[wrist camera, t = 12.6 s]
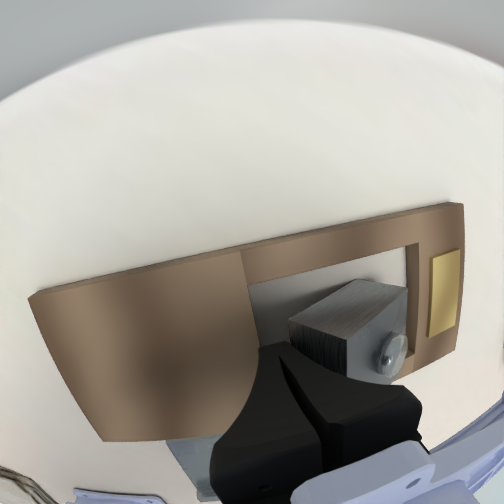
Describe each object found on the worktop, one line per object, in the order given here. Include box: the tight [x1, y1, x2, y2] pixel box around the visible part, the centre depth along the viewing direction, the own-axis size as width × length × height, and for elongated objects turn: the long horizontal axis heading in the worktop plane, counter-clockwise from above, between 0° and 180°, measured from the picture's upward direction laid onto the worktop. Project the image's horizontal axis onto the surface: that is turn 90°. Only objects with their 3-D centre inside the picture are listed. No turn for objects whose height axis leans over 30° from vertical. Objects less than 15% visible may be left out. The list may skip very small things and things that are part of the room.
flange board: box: [27, 202, 465, 442], centre depth 14 cm, size 24×10×2 cm, turn 101°
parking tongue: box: [166, 433, 224, 502], centre depth 15 cm, size 8×7×2 cm
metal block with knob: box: [288, 279, 408, 385], centre depth 12 cm, size 5×5×4 cm
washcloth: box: [0, 466, 58, 504], centre depth 14 cm, size 12×18×3 cm, turn 100°
